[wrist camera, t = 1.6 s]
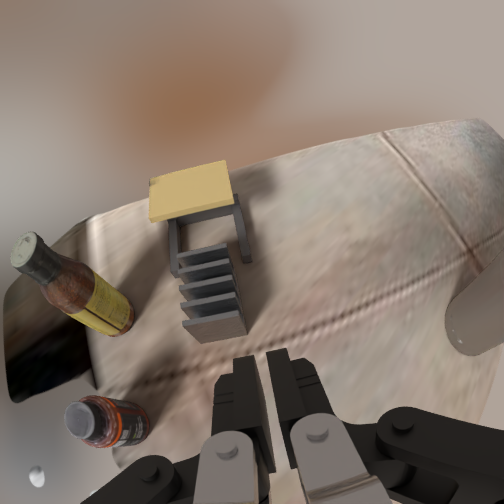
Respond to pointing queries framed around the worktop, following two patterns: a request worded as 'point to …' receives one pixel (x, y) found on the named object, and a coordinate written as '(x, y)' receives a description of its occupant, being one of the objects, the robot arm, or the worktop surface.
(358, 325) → the worktop surface
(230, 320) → the heatsink block
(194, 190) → the grey and yellow stand
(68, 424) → the supplement bottle
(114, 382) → the worktop surface
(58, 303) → the sauce bottle
